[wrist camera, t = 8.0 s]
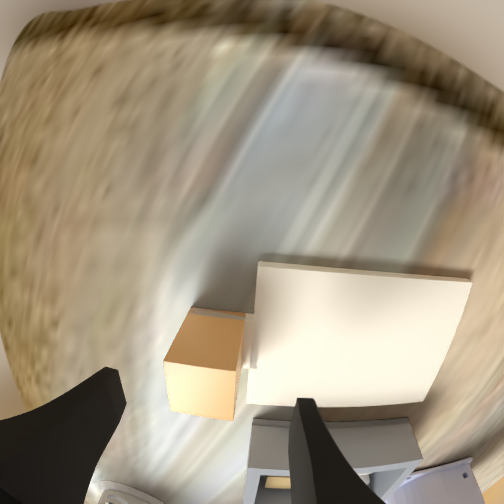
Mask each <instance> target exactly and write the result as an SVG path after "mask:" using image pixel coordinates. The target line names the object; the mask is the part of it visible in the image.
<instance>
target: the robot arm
mask: <svg viewBox="0 0 504 504" xmlns="http://www.w3.org/2000/svg"><path fill="white" fill-rule="evenodd" d="M125 406H126V399H125V396H124V392H123V388H122V384H121V380H120V376H119V372H118V370H116V369H112V368H109V367H104V368H103V369H101V370H100V371H98V372H97V373H95V374H94V375H92V376H91V377H89V378H88V379H86V380H85V381H83V382H82V383H80V384H79V385H77V386H76V387H74V388H73V389H71V390H69V391H68V392H66V393H64V394H63V395H61V396H59V397H58V398H56V399H54V400H52V401H51V402H49V403H47V404H45V405H43V406H41V407H38V408H36V409H34V410H32V411H29V412H26V413H23V414H21V415H17V416H15V417H12V418H8V419H4V420H0V504H84V500H85V497H86V493H87V490H88V487H89V484H90V481H91V478H92V475H93V473H94V470H95V467H96V465H97V463H98V461H99V459H100V457H101V455H102V453H103V451H104V450H105V448H106V446H107V444H108V442H109V441H110V439H111V437H112V435H113V433H114V431H115V430H116V428H117V426H118V424H119V422H120V420H121V417H122V414H123V412H124V409H125ZM288 457H289V471H290V485H291V504H485V503H484V499H483V496H482V493H481V491H480V488H479V486H478V483H477V481H476V478H475V476H474V474H473V471H472V469H471V467H470V463H471V462H472V460H473V458H472V457H469V458H466V459H463V460H460V461H456V462H453V463H449V464H446V465H442V466H438V467H434V468H430V469H426V470H421V471H417V472H412V473H411V474H410V475H409V476H408V477H407V479H406V480H405V481H404V482H403V483H402V484H401V485H400V486H399V487H398V488H397V489H396V491H395V492H394V493H393V494H392V495H391V496H390V497H389V498H388V499H387V500H386V501H385V502H384V501H383V500H382V499H381V498H380V497H379V496H378V495H376V494H375V493H374V492H373V491H372V490H371V489H370V488H369V487H368V486H367V485H366V483H365V482H364V481H363V480H362V479H361V478H360V477H359V475H358V474H357V473H356V472H355V470H354V469H353V468H352V467H351V465H350V464H349V462H348V461H347V460H346V458H345V457H344V455H343V454H342V452H341V451H340V449H339V447H338V446H337V444H336V442H335V441H334V439H333V437H332V435H331V434H330V432H329V430H328V428H327V426H326V424H325V422H324V420H323V418H322V416H321V414H320V411H319V409H318V407H317V404H316V401H315V400H314V399H313V398H297V400H296V404H295V408H294V412H293V416H292V420H291V424H290V428H289V442H288Z"/></svg>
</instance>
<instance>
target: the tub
mask: <svg viewBox="0 0 504 504" xmlns="http://www.w3.org/2000/svg"><path fill="white" fill-rule="evenodd" d="M290 424H291V421H279V420H265V419H253V422H252V430H251V438H250V446H249V454H248V461H247V469H246V477H245V485H244V494H243V502H242V504H291V485H290V471H289V457H288V442H289V428H290ZM325 424H326V426H327V428H328V430H329V432H330V434H331V435H332V437H333V439H334V441H335V442H336V444H337V446H338V447H339V449H340V451H341V452H342V454H343V455H344V457H345V458H346V460H347V461H348V462H349V464H350V465H351V467H352V468H353V469H354V470H355V472H356V473H357V474H358V475H359V477H360V478H361V479H362V480H363V481H364V482H365V483H366V485H367V486H368V487H369V488H370V489H371V490H372V491H373V492H374V493H375V494H376V495H378V496H379V497H380V498H381V499H382V500H383V501H384V502H385V501H386V500H387V499H388V498H389V497H390V496H391V495H392V494H393V493H394V492H395V491H396V489H397V488H398V487H399V486H400V485H401V484H402V483H403V482H404V481H405V480H406V479H407V477H408V476H409V475H410V474H411V473H412V472H413V471H414V469H415V468H416V467H417V466H418V465H419V463H420V462H421V461H422V460H423V457H422V454H421V451H420V448H419V446H418V443H417V440H416V437H415V435H414V432H413V430H412V427H411V424H410V422H409V419H408V417H405V418H396V419H385V420H371V421H351V422H325Z"/></svg>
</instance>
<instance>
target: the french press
mask: <svg viewBox="0 0 504 504" xmlns="http://www.w3.org/2000/svg"><path fill="white" fill-rule="evenodd" d="M99 487H100V489H101V491H102V493H103V494H102V496H101V498H100V500H99V502H98V504H105V502H108V503H109V504H164V503H162V502H161V501H159V500H158V499H156V498H154V497H152V496H150V495H148V494H146V493H144V492H142V491H139V490H137V489H134V488H132V487H130V486H127V485H123V484H120V483H117V482H114V481H106V480H102V481H100V482H99Z"/></svg>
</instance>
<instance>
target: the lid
mask: <svg viewBox="0 0 504 504" xmlns="http://www.w3.org/2000/svg"><path fill="white" fill-rule="evenodd" d="M472 283H473V282H471V281H470V280H469V279H467V278H456V277H443V276H430V275H417V274H405V273H392V272H380V271H368V270H356V269H344V268H333V267H321V266H310V265H298V264H287V263H276V262H265V261H258V270H257V282H256V294H255V306H254V314H250V313H240V312H230V311H221V310H212V309H203V308H195V307H191V308H190V310H189V312H188V314H187V316H186V318H185V320H184V322H183V323H182V325H181V327H180V329H179V331H178V333H177V335H176V337H175V339H174V341H173V343H172V345H171V347H170V349H169V351H168V353H167V355H166V357H165V359H164V361H163V362H164V370H165V378H166V385H167V392H168V399H169V405H170V411H174V412H179V413H184V414H190V415H196V416H202V417H209V418H216V419H223V420H231V421H233V419H234V412H235V406H236V400H237V394H238V387H239V381H240V375H241V368H249V376H248V387H247V398H246V403H250V404H261V405H275V406H294V407H295V404H296V400H297V398H313V399H314V400H315V401H316V404H317V407H361V406H380V405H393V404H404V403H413V402H422V401H423V400H424V399H425V397H426V395H427V393H428V391H429V389H430V387H431V385H432V383H433V381H434V379H435V377H436V375H437V373H438V371H439V369H440V367H441V365H442V363H443V360H444V358H445V356H446V354H447V351H448V349H449V347H450V344H451V342H452V339H453V337H454V335H455V332H456V329H457V327H458V324H459V322H460V319H461V316H462V313H463V311H464V308H465V305H466V302H467V299H468V296H469V293H470V289H471V286H472Z"/></svg>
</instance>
